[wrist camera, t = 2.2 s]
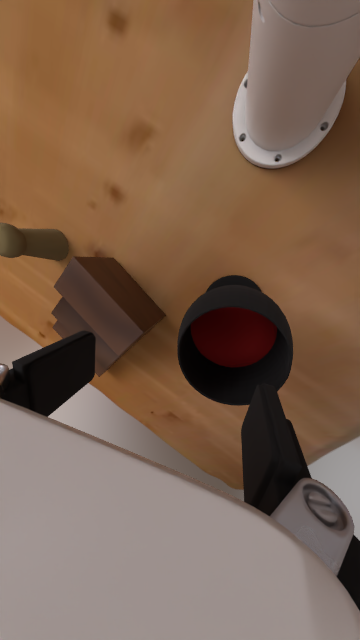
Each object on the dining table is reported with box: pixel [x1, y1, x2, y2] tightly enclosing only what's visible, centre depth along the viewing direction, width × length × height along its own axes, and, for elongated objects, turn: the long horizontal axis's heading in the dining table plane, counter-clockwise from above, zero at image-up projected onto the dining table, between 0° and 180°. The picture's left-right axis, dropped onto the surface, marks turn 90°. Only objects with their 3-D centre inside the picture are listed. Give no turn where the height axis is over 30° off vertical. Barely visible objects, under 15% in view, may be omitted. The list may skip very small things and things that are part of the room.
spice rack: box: [52, 257, 166, 377], centre depth 36 cm, size 21×15×10 cm
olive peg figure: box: [0, 223, 69, 261], centre depth 34 cm, size 6×6×11 cm
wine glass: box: [178, 275, 293, 405], centre depth 24 cm, size 10×10×20 cm
